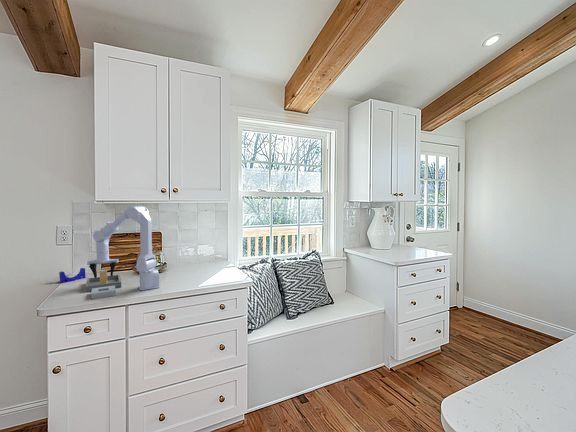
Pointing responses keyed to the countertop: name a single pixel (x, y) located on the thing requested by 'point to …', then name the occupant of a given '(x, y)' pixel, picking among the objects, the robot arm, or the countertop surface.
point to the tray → (95, 283)
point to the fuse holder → (103, 292)
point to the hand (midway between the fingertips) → (103, 276)
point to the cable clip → (68, 279)
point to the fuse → (103, 276)
